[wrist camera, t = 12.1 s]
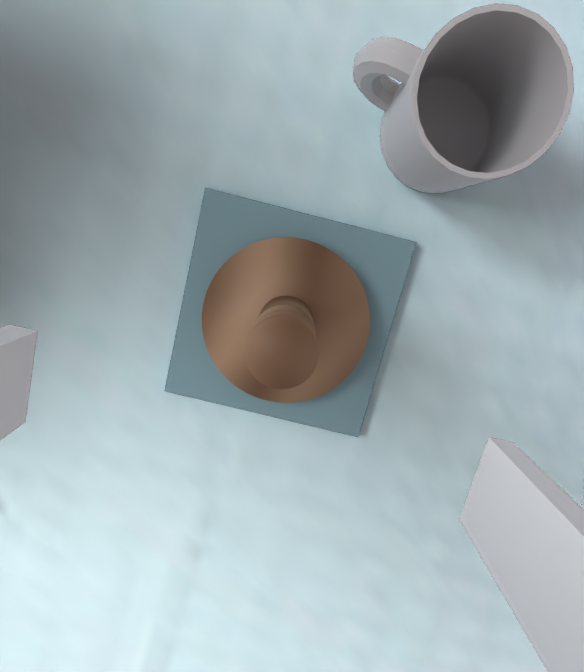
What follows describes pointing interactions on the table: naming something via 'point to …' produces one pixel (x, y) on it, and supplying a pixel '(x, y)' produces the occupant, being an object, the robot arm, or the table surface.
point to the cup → (469, 97)
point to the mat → (272, 222)
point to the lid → (285, 319)
